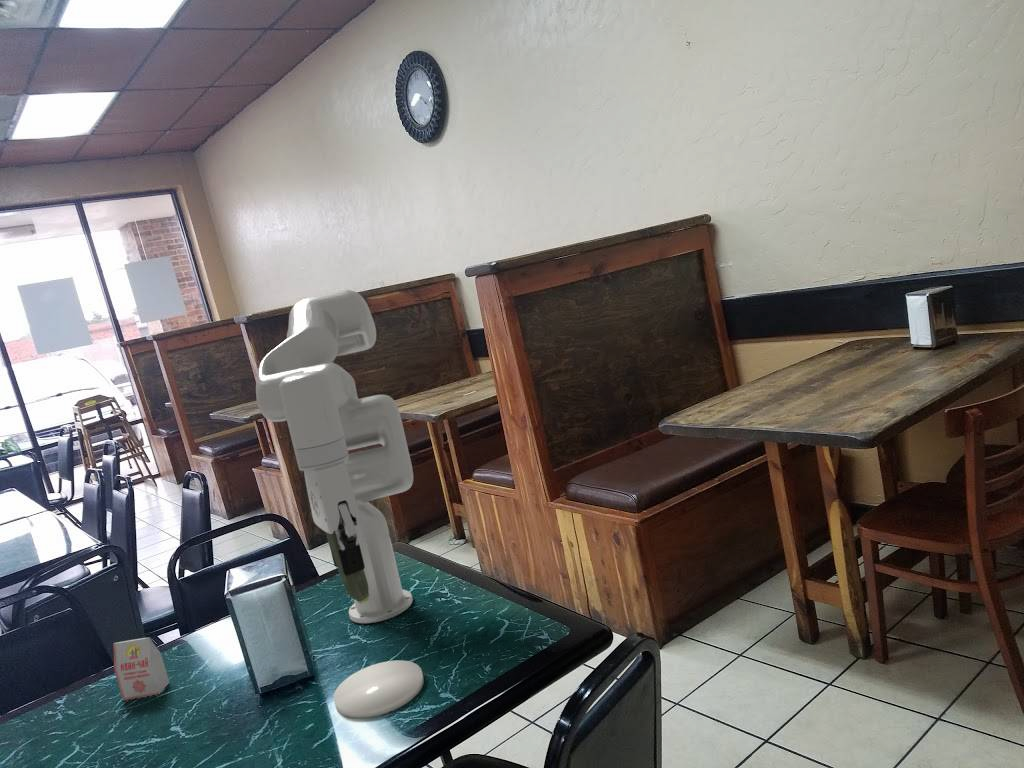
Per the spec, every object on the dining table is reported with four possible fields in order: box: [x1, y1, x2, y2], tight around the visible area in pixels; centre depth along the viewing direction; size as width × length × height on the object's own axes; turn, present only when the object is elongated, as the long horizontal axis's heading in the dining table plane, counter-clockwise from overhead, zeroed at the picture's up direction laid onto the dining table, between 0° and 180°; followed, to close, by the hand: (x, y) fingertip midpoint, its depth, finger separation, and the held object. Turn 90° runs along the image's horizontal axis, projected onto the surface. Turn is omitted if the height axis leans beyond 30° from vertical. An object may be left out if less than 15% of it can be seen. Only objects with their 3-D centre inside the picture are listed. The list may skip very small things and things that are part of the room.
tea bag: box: [112, 636, 170, 701], centre depth 138 cm, size 4×7×10 cm, turn 87°
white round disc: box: [333, 659, 425, 719], centre depth 123 cm, size 14×14×1 cm
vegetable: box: [325, 516, 369, 604], centre depth 119 cm, size 4×4×20 cm
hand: (349, 566), depth 119 cm, fingers closed on vegetable, 4 cm apart
